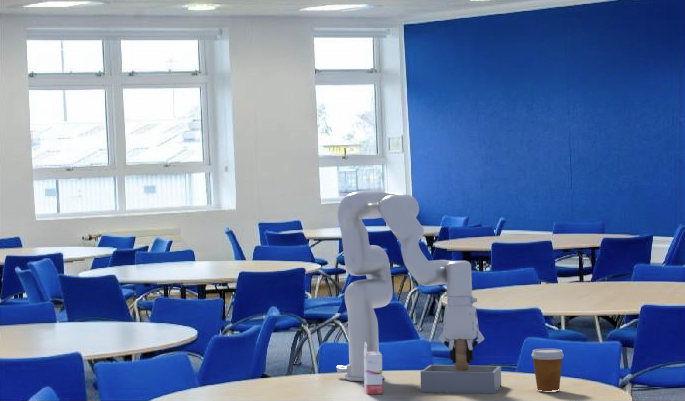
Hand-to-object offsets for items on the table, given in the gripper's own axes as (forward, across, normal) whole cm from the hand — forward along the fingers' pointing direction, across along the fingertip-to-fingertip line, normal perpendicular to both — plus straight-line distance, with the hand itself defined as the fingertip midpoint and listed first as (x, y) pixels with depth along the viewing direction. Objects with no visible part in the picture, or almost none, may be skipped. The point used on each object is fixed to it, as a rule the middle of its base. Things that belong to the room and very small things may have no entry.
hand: (461, 362), depth 367 cm
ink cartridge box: (+8, +25, +9) cm, 28 cm away
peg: (+2, 0, 0) cm, 2 cm away
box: (+8, 0, 0) cm, 8 cm away
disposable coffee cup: (+9, -26, +1) cm, 27 cm away
